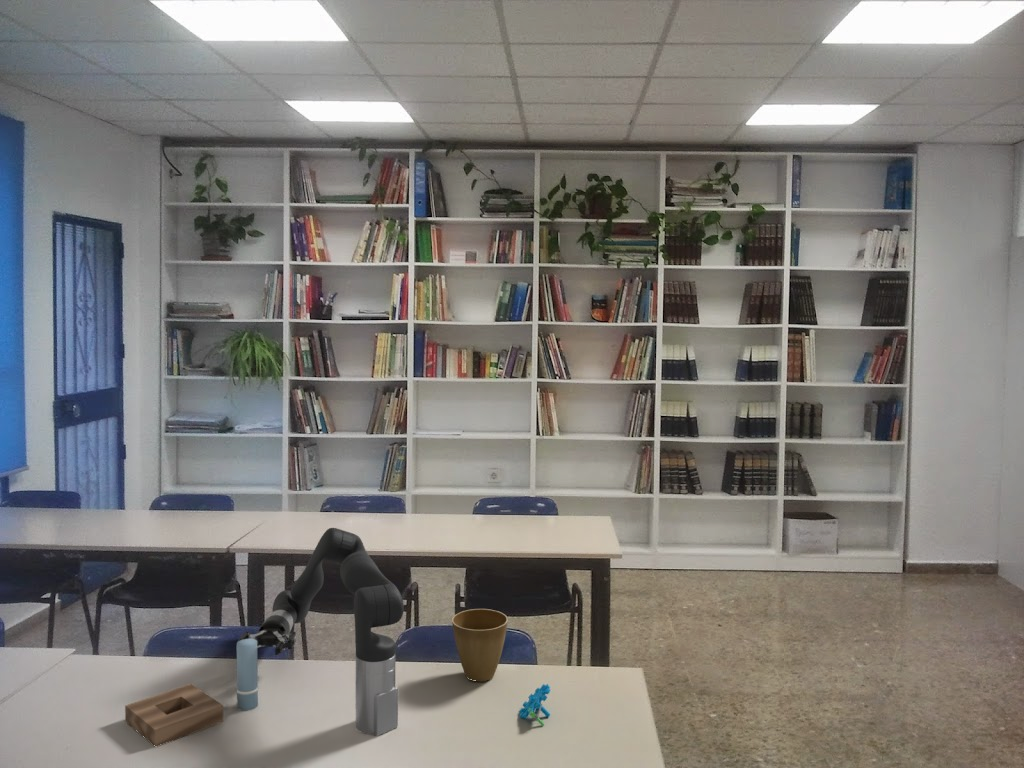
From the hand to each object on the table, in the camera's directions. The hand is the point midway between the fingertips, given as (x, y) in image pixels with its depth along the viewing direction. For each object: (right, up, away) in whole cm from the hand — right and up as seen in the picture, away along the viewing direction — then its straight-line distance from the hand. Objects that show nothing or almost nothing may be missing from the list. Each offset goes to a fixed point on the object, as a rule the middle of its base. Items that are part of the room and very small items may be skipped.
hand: (260, 651), depth 210 cm
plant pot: (+56, -10, +8) cm, 58 cm away
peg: (0, -10, -10) cm, 14 cm away
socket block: (-14, -10, -19) cm, 26 cm away
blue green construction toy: (+71, -12, -14) cm, 73 cm away
